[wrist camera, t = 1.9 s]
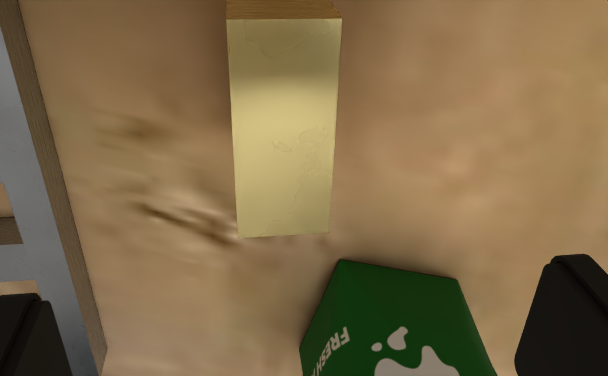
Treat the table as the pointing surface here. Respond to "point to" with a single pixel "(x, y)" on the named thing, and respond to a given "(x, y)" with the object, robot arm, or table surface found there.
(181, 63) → the table surface
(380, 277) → the milk carton
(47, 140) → the grey flat board
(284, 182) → the tan wooden block
